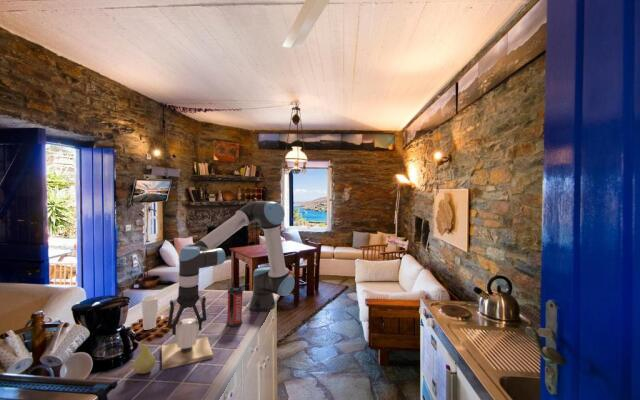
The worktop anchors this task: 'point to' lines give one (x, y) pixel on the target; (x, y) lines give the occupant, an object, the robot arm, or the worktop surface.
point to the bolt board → (185, 353)
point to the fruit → (144, 360)
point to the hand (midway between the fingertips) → (186, 339)
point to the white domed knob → (187, 333)
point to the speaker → (234, 306)
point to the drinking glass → (149, 312)
